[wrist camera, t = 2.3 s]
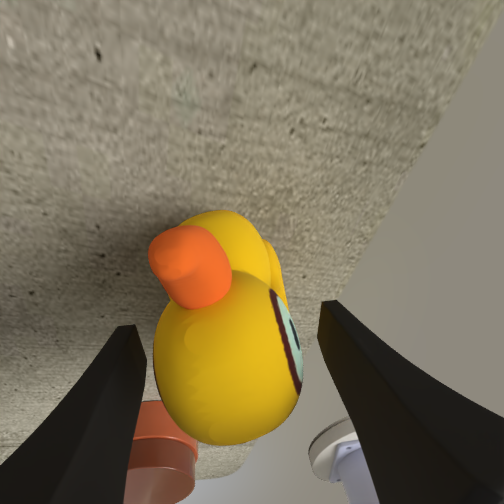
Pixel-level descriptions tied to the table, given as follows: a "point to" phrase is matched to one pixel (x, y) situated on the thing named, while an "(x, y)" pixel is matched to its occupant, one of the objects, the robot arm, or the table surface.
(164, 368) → the duckling
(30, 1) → the table surface
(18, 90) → the table surface
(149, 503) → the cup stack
